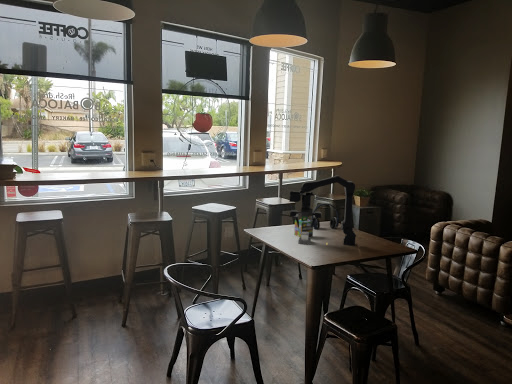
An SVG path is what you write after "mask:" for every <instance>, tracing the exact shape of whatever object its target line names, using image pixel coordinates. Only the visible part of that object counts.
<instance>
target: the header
mask: <svg viewBox="0 0 512 384" xmlns="http://www.w3.org/2000/svg"><path fill="white" fill-rule="evenodd" d="M297 242H298V244H299V245H304V246H305V245H311V243H312V237H308V240H301V237H298V241H297Z"/></svg>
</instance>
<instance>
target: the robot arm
mask: <svg viewBox="0 0 512 384" xmlns="http://www.w3.org/2000/svg"><path fill="white" fill-rule="evenodd" d="M336 183H337V184H339V185H341V186H342V187H343V188H344V193H345V200H344V201H345V203H344V204H345V205H344V219H343V220H342V221H340V223H341V225H340V229H341V231H342V232H343V234H344V237H343V241H342V242H343V245H344V246H348V247H351V246H356V237H357V234H356V233H355V231H354V229H353V222H352V214H353V213H352V212H353V197H354V194H355V190H356V184H355V183H354V182H353V181H351V180H346V179H344V178H343V177H341V176H340V175H338V174H336V175H334V176H330V177H327V178H323V179H319V180H308V181H306V180H305V181H304V182H303V183H302V184H301V187H300V189H299V190H298V191H297V190H290V191H289V203H299V202H300V201H301V208H300V211H298V210H297V209H296V210H295V209H292V210H290V211H289V212H290V213H289V216H290V217H293V218H294V219H295V220H296V221H297V225H298V227H299V219H300V217H301V218H302V217H304V218H306V217H308V218H309V217H312V216H313V220H312V226H311V228H312V227H313V224H314V222H315V220H316V219H321V218H322V211H317V210H316V211H315V213H313V211H314V209H313V208H312V197H314V196H315V193H313V191H314V190H315V189H318V188H321V187H325V186H330V185H333V184H336ZM313 228H314V227H313Z"/></svg>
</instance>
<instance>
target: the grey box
mask: <svg viewBox="0 0 512 384" xmlns="http://www.w3.org/2000/svg"><path fill="white" fill-rule="evenodd" d="M308 234H309V232H302V233H301V240H308Z"/></svg>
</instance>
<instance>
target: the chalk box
mask: <svg viewBox="0 0 512 384" xmlns="http://www.w3.org/2000/svg"><path fill="white" fill-rule="evenodd" d="M311 226H312V221H311V219H309V217H301V218H299V227H298V225H297V221H296V219H295V220H294V236H297V237H298V238H299V237H301V233H302V232H309V234H308V237H311V238H312V237H313V235H314V234H313V233H314V227H312V228H311Z"/></svg>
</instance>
